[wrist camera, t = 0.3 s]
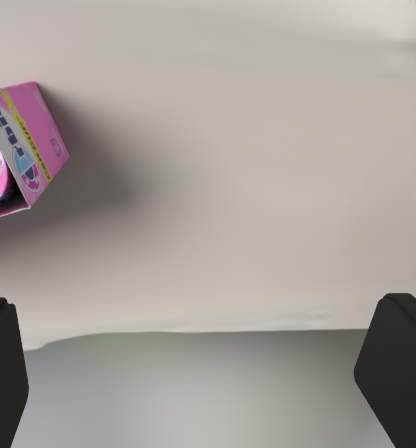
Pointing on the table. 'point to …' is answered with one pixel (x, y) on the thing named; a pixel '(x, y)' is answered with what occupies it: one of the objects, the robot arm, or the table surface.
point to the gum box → (26, 147)
